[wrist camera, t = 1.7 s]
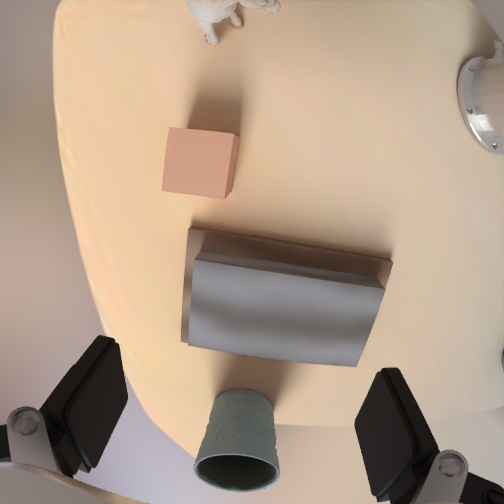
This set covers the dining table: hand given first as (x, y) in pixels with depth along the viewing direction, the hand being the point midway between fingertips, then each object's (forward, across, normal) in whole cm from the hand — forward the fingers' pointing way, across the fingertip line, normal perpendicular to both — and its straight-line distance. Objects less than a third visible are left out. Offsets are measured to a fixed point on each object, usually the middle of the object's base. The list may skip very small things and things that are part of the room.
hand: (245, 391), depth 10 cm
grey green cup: (+23, -1, +26) cm, 34 cm away
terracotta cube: (+23, +6, -7) cm, 24 cm away
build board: (+23, -4, +8) cm, 24 cm away
